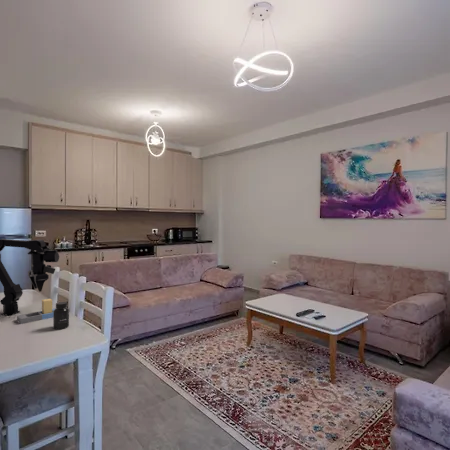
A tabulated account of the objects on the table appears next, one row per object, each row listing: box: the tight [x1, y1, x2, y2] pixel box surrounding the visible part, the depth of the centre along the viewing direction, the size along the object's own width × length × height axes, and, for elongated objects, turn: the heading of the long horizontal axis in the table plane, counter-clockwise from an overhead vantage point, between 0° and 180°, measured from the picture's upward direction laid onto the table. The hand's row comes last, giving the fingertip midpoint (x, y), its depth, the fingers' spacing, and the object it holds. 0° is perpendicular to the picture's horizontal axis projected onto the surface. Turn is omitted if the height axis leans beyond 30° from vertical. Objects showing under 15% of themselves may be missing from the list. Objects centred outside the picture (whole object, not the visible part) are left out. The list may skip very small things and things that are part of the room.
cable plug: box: [41, 298, 53, 314], centre depth 168 cm, size 4×4×9 cm
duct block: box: [16, 307, 56, 325], centre depth 166 cm, size 19×8×2 cm, turn 135°
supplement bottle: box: [52, 301, 70, 330], centre depth 152 cm, size 7×7×12 cm
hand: (38, 290), depth 174 cm, fingers open, 9 cm apart
